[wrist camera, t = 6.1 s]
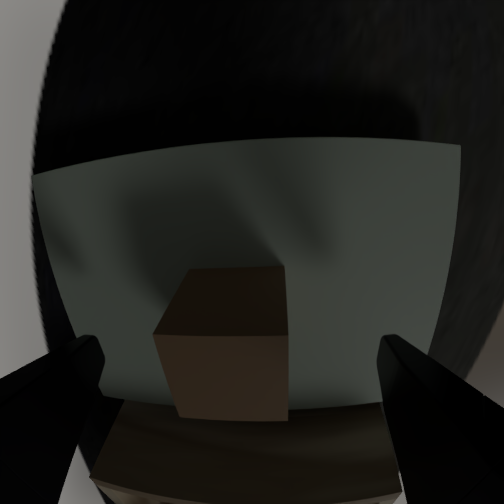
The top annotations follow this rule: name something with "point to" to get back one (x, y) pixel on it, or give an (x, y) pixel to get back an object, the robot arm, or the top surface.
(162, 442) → the box
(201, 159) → the lid
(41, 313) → the top surface
